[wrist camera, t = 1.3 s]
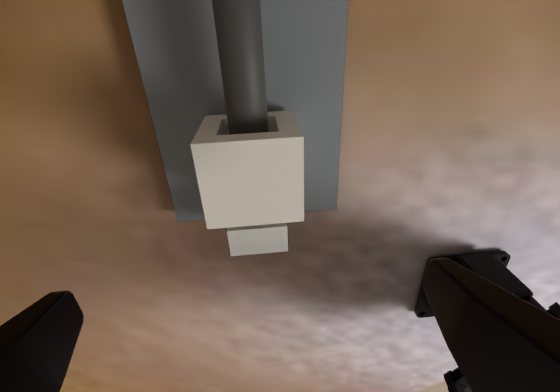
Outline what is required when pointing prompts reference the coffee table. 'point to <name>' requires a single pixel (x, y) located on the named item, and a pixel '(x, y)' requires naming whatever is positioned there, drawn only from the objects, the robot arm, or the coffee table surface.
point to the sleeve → (250, 172)
